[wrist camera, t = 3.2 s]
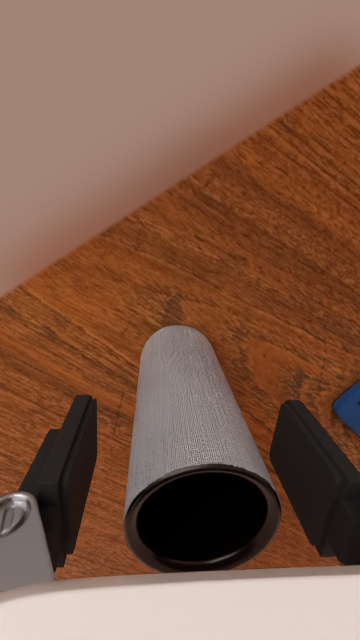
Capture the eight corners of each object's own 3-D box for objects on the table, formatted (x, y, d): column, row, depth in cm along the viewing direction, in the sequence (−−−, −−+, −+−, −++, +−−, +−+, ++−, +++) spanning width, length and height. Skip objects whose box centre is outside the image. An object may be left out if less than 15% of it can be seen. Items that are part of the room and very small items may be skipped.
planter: (133, 332, 17) (102, 486, 7) (207, 317, 17) (279, 449, 7) (149, 395, 18) (142, 592, 9) (217, 381, 18) (287, 561, 9)
